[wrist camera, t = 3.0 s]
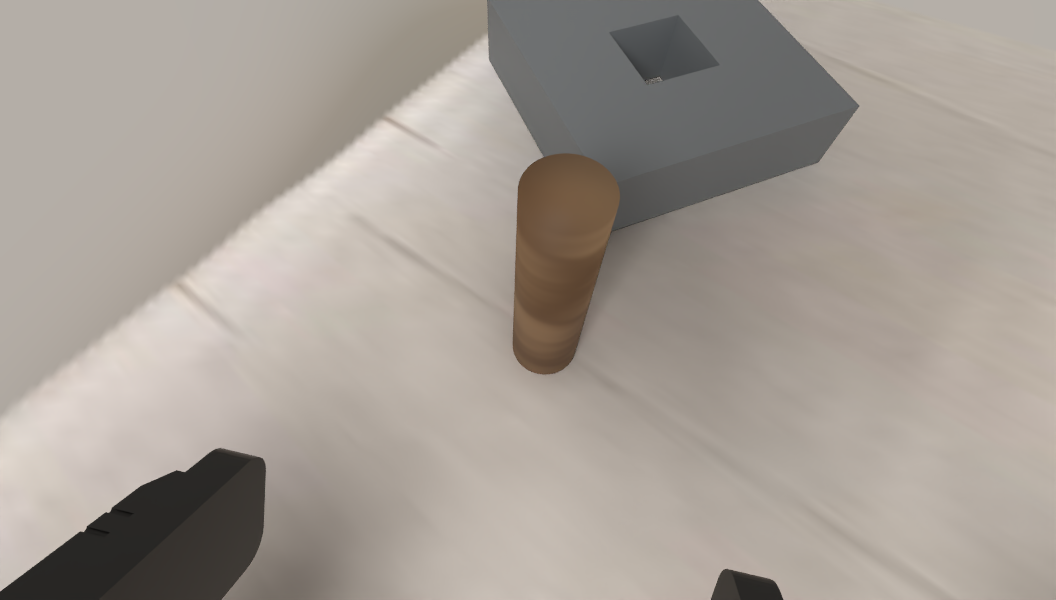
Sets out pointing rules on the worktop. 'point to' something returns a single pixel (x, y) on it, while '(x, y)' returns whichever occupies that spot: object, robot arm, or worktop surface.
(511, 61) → the hole block
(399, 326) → the worktop surface
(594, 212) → the peg
